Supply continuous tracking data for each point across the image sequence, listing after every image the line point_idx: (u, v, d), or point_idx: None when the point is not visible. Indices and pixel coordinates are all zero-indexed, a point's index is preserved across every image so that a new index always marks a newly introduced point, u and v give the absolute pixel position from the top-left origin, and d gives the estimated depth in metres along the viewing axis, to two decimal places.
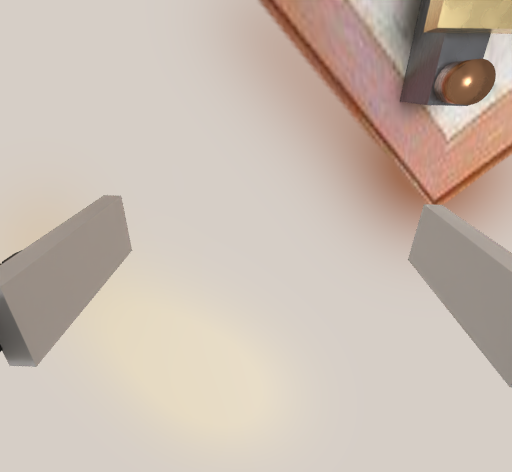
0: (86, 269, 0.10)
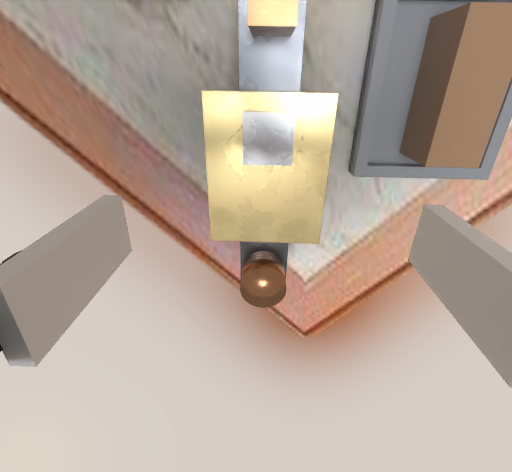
0: (86, 269, 0.10)
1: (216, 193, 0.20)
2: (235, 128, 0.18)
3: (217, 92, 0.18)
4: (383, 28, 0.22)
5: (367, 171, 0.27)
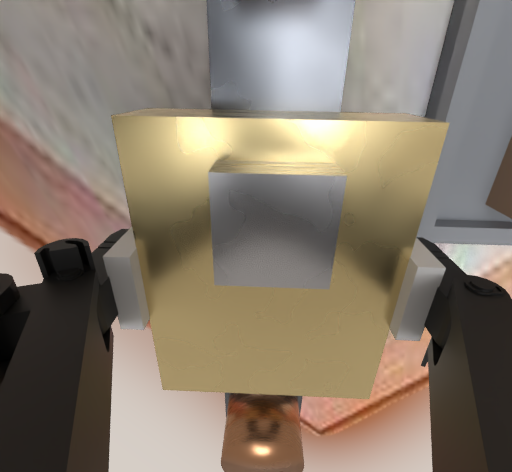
0: None
1: (166, 318, 0.10)
2: (198, 199, 0.08)
3: (149, 119, 0.07)
4: None
5: (434, 235, 0.16)
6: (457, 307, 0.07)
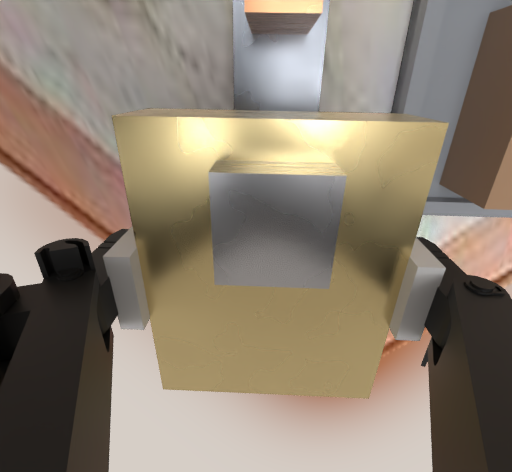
0: None
1: (166, 317, 0.10)
2: (198, 198, 0.08)
3: (150, 119, 0.07)
4: (428, 26, 0.17)
5: None
6: (457, 307, 0.07)
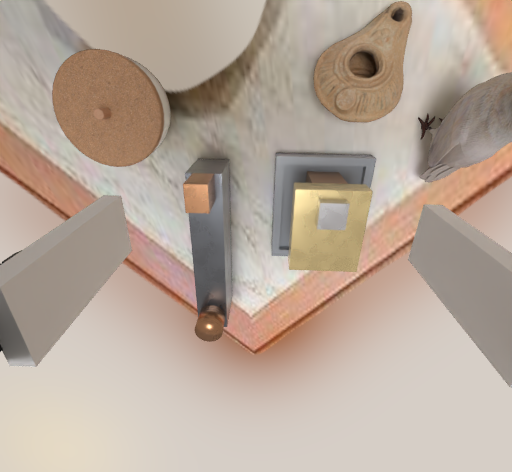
0: (86, 269, 0.10)
1: (296, 242, 0.34)
2: (312, 208, 0.32)
3: (304, 190, 0.31)
4: (277, 179, 0.38)
5: (280, 253, 0.42)
6: None
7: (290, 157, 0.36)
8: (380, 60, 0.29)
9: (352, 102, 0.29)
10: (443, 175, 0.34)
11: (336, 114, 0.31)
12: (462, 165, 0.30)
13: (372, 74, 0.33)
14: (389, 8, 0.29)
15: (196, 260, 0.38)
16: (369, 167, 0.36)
